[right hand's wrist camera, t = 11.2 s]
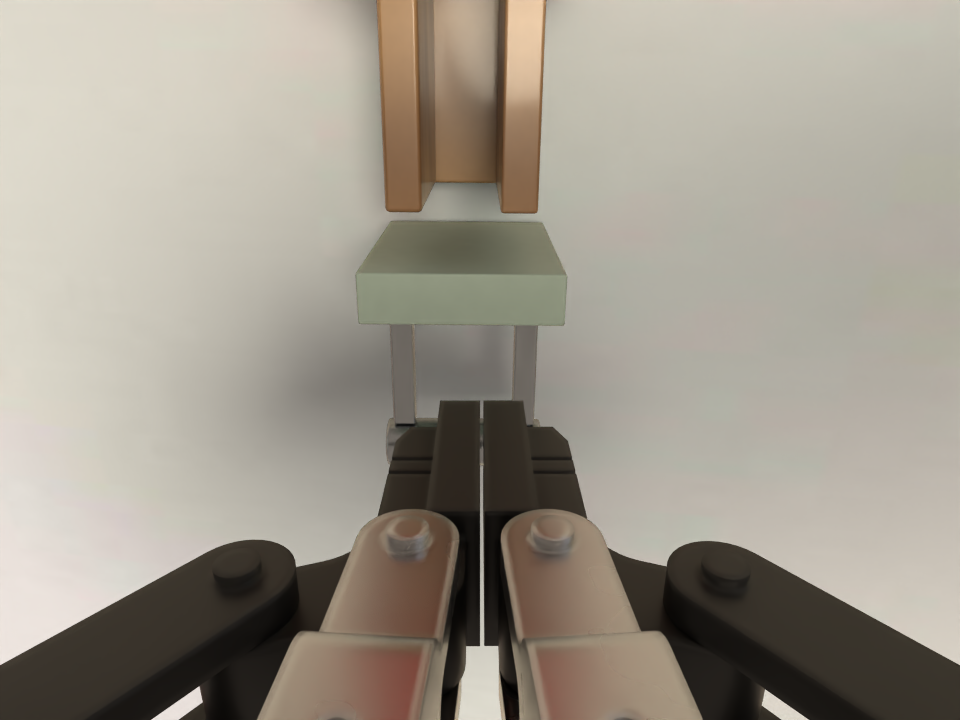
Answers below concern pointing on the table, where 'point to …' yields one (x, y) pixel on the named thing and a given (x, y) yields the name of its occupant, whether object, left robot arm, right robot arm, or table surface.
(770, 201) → the table surface
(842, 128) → the table surface
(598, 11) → the table surface
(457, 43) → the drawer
